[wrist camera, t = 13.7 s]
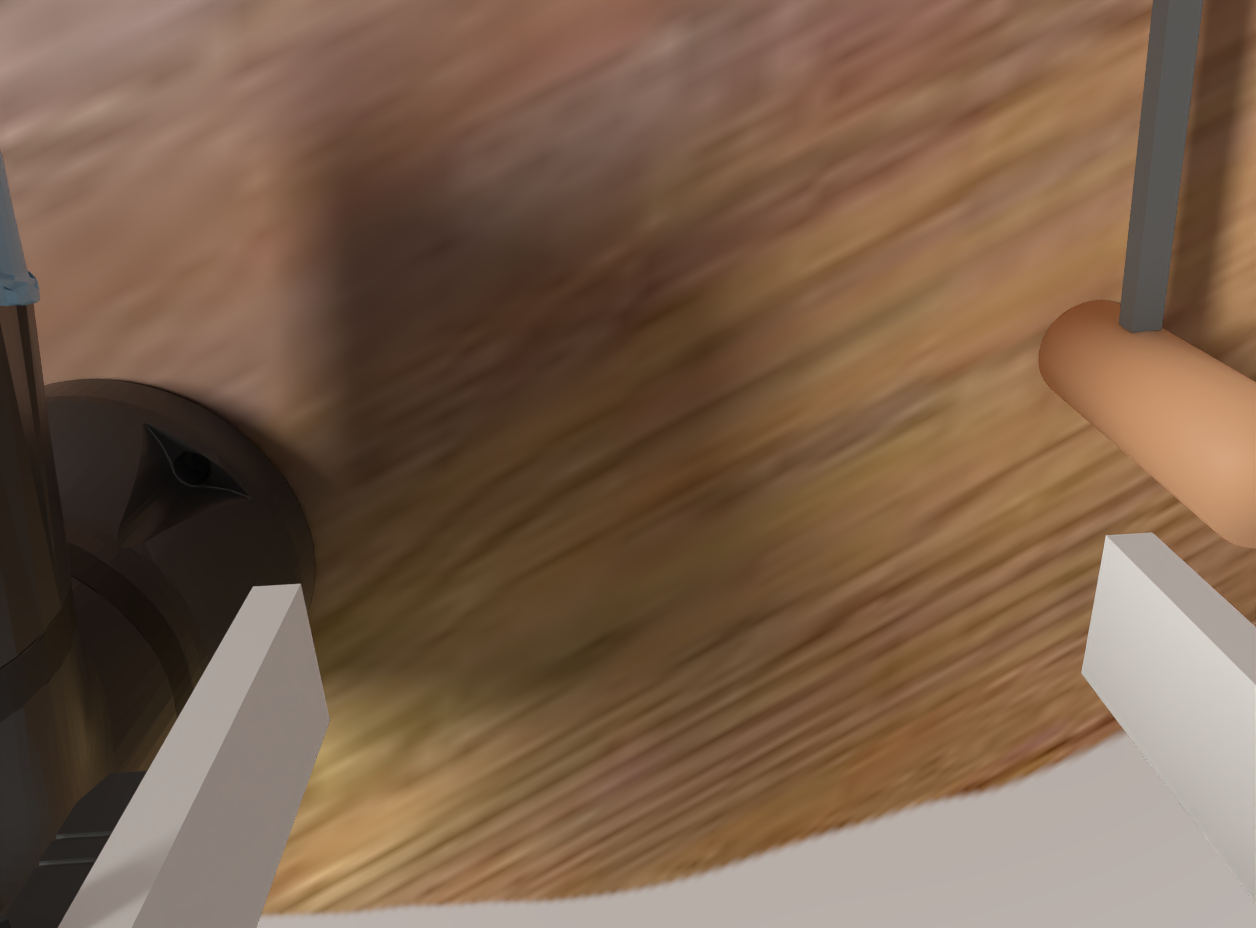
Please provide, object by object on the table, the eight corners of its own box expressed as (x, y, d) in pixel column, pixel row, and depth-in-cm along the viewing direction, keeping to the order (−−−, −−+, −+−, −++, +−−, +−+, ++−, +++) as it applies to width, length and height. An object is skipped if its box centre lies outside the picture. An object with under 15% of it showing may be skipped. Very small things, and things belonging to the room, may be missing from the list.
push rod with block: (1163, 391, 39) (1375, 539, 28) (1009, 406, 39) (1159, 557, 28) (1266, -396, 29) (1657, -648, 18) (1057, -370, 29) (1318, -603, 18)
